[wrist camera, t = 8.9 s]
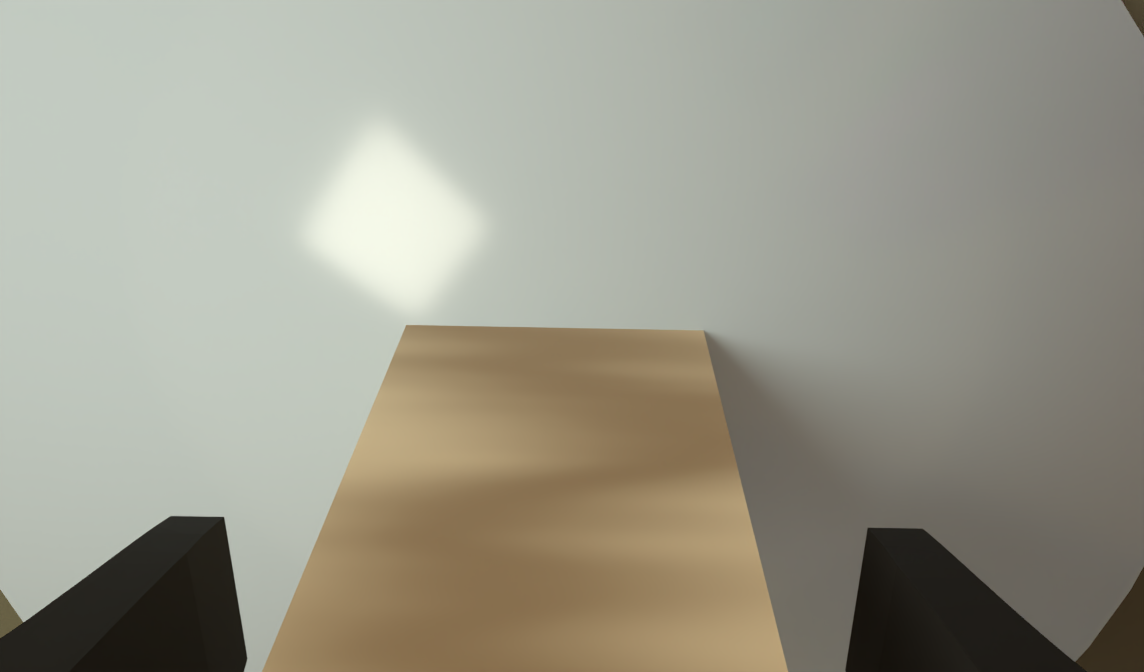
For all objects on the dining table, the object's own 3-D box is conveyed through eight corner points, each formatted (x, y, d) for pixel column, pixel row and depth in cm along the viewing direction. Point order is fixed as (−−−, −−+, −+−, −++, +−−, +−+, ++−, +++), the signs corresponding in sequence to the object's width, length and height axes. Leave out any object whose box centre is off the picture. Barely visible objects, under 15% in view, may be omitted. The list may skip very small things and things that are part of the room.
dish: (1344, -272, 11) (1423, -289, 10) (1030, 831, 19) (1058, 890, 18) (-212, -283, 12) (-295, -299, 11) (87, 812, 19) (57, 869, 18)
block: (703, 330, 13) (804, 738, 7) (685, 571, 15) (754, 1078, 9) (406, 324, 13) (239, 725, 7) (421, 565, 15) (297, 1066, 9)
